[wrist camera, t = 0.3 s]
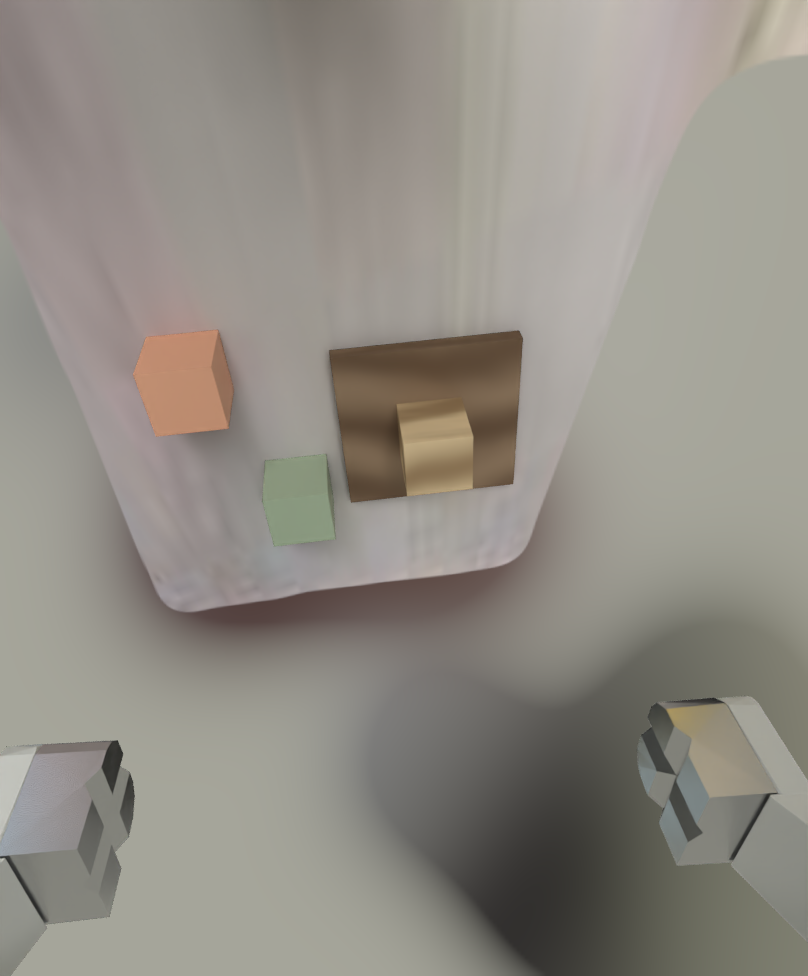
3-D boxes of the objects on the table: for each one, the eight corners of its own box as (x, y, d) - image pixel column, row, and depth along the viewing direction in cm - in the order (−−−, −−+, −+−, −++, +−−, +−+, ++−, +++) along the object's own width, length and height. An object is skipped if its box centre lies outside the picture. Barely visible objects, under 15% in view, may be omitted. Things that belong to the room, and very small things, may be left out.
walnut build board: (329, 350, 50) (332, 397, 46) (518, 330, 51) (540, 375, 46) (350, 493, 59) (354, 544, 55) (510, 475, 60) (527, 524, 55)
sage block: (264, 460, 56) (262, 501, 52) (326, 453, 56) (327, 493, 53) (275, 504, 60) (274, 546, 56) (333, 498, 60) (335, 539, 56)
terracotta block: (146, 336, 48) (133, 374, 44) (218, 329, 48) (211, 366, 45) (166, 396, 51) (155, 436, 48) (233, 389, 52) (228, 428, 48)
